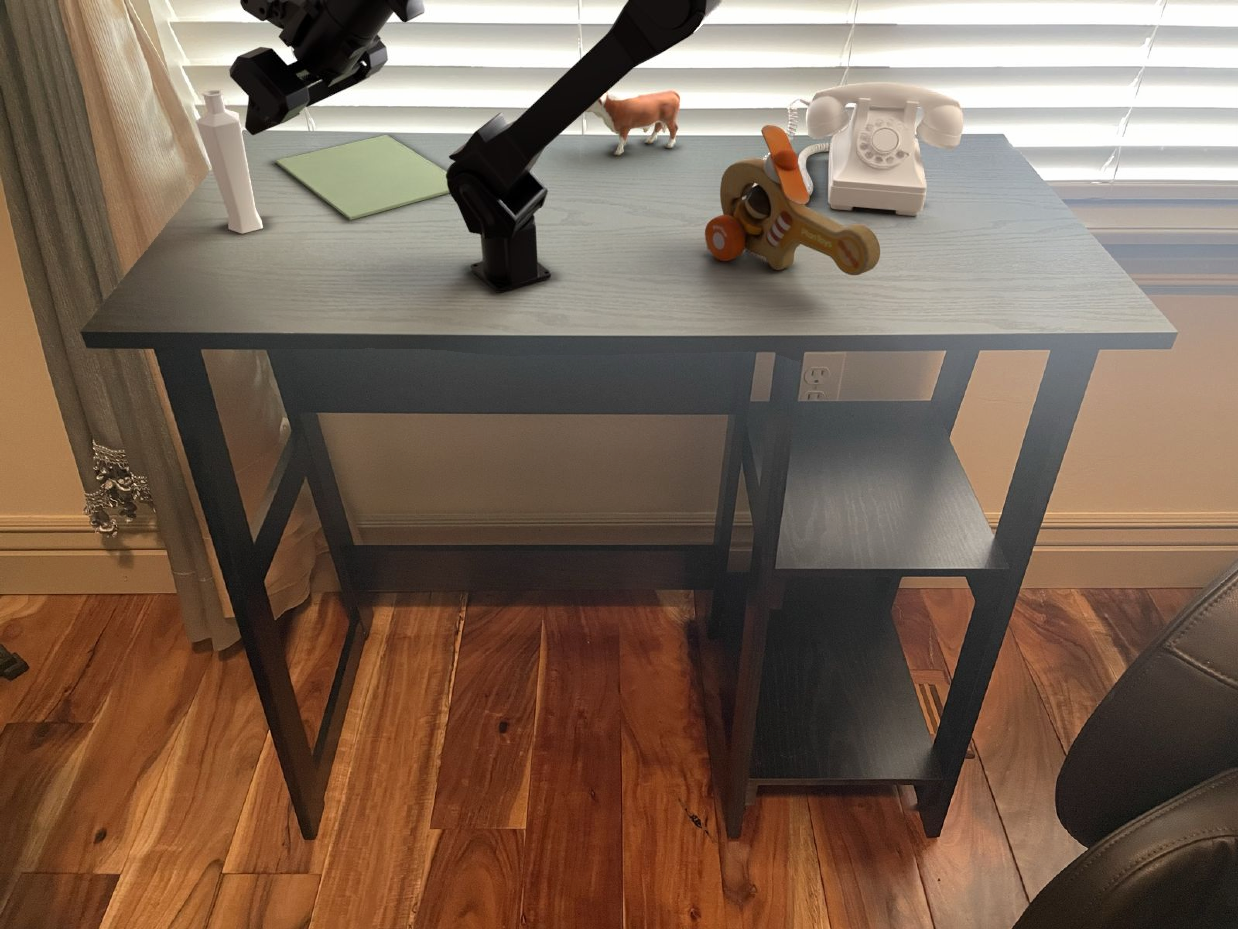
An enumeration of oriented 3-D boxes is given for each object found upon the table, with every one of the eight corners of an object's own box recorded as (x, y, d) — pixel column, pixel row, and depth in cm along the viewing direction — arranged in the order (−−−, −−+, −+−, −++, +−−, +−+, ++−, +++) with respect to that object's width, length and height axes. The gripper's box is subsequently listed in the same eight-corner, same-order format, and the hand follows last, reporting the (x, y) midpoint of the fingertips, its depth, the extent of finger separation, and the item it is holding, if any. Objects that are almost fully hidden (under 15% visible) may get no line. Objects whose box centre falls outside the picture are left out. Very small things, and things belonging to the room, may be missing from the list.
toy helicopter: (746, 229, 108) (759, 109, 99) (890, 298, 96) (919, 168, 87) (695, 249, 104) (703, 125, 95) (838, 324, 92) (863, 190, 83)
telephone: (744, 203, 114) (755, 99, 106) (756, 143, 130) (766, 48, 122) (955, 222, 110) (982, 115, 102) (940, 157, 126) (963, 61, 118)
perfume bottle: (224, 220, 108) (188, 88, 99) (263, 215, 110) (231, 84, 100) (225, 237, 105) (188, 101, 96) (266, 231, 106) (233, 97, 97)
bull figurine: (582, 147, 128) (581, 86, 123) (674, 138, 131) (676, 78, 126) (591, 158, 125) (590, 96, 119) (684, 149, 128) (688, 87, 123)
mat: (468, 187, 117) (468, 184, 116) (350, 220, 109) (350, 217, 109) (386, 137, 130) (386, 134, 130) (276, 163, 122) (275, 160, 122)
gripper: (343, -78, 92) (273, 30, 101) (219, -42, 78) (153, 79, 88) (423, 16, 95) (348, 112, 104) (318, 66, 81) (243, 172, 91)
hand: (277, 116), depth 97 cm, fingers open, 9 cm apart
